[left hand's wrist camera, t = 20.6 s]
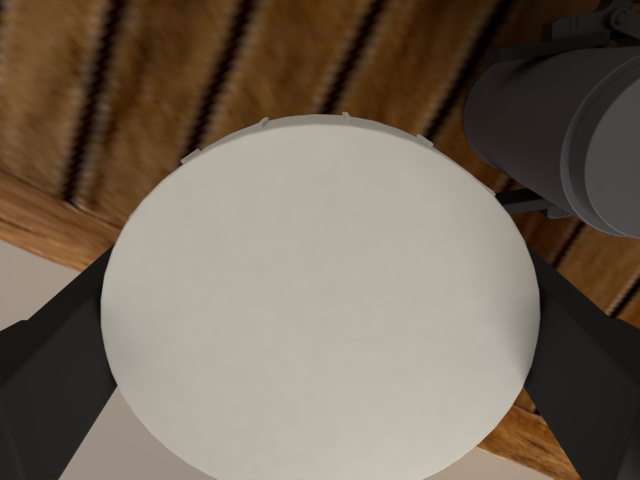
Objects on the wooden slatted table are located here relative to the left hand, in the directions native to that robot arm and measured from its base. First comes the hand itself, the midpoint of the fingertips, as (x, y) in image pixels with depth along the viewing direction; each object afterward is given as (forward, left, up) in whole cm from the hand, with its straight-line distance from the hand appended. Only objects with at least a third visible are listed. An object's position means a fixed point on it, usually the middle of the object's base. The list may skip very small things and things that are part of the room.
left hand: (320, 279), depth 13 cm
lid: (0, 0, +3) cm, 3 cm away
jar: (-8, +14, -26) cm, 31 cm away
